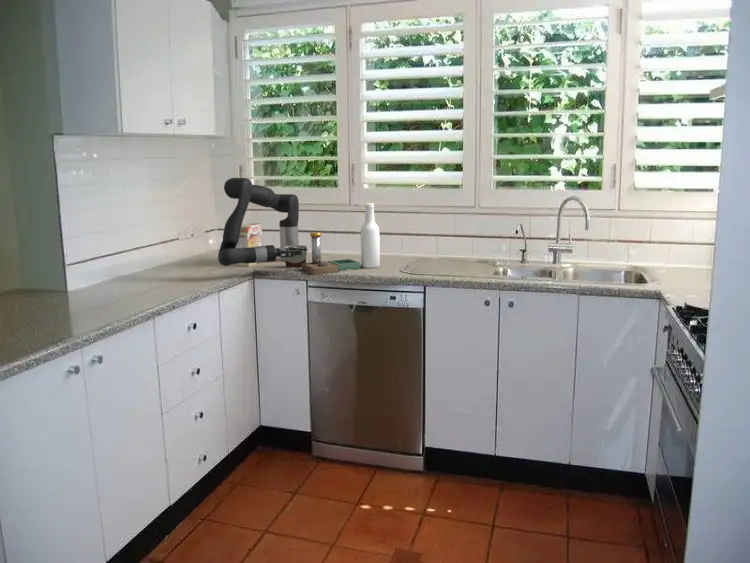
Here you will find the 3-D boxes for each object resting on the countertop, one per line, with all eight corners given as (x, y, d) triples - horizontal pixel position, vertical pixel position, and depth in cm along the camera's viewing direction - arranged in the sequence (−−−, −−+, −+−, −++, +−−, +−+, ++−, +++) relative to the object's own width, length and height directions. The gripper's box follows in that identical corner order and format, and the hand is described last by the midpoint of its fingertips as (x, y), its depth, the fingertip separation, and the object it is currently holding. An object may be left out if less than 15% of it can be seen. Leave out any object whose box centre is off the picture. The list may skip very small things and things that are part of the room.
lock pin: (309, 269, 314) (308, 232, 310) (319, 268, 316) (318, 232, 313) (313, 271, 309) (312, 234, 306) (324, 270, 311) (323, 233, 308)
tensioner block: (301, 269, 313) (301, 260, 313) (325, 267, 319) (325, 258, 318) (313, 274, 300) (313, 265, 300) (338, 272, 306) (337, 263, 305)
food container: (310, 265, 324) (310, 245, 322) (308, 267, 318) (307, 247, 316) (285, 265, 325) (284, 245, 324) (282, 267, 319) (281, 247, 318)
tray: (328, 267, 319) (328, 260, 319) (349, 265, 324) (349, 258, 324) (338, 270, 309) (338, 264, 308) (360, 268, 314) (359, 262, 313)
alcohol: (361, 268, 314) (360, 204, 308) (361, 265, 323) (360, 202, 317) (380, 268, 314) (379, 203, 308) (379, 265, 323) (378, 202, 317)
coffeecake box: (249, 266, 324) (247, 226, 320) (236, 266, 326) (234, 226, 322) (264, 261, 338) (262, 223, 334) (251, 261, 340) (249, 222, 336)
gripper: (268, 247, 293) (303, 244, 300) (258, 243, 305) (292, 241, 313) (269, 264, 294) (304, 261, 301) (259, 260, 307) (293, 257, 314)
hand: (298, 251), depth 307 cm, fingers open, 8 cm apart
